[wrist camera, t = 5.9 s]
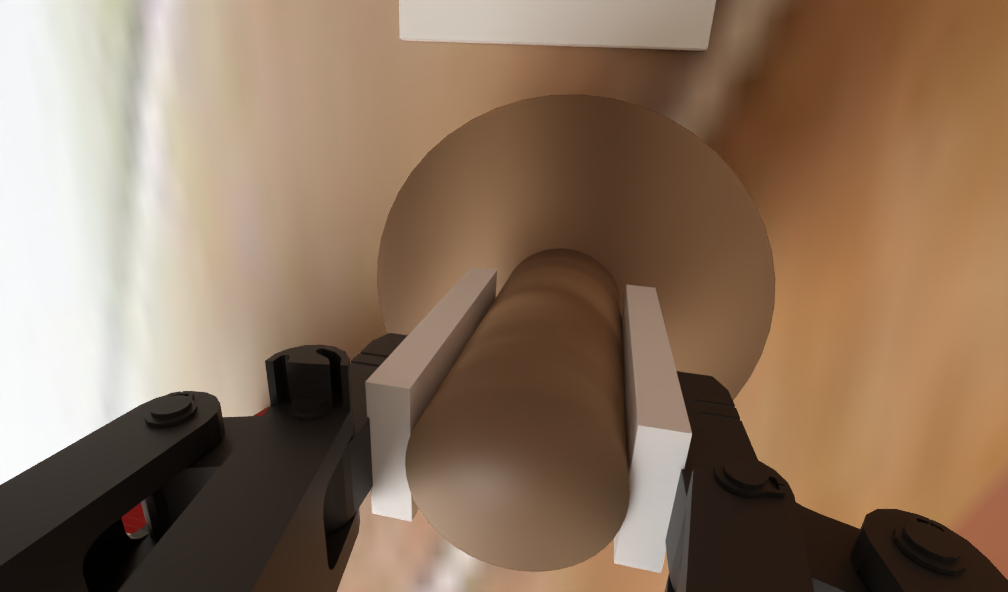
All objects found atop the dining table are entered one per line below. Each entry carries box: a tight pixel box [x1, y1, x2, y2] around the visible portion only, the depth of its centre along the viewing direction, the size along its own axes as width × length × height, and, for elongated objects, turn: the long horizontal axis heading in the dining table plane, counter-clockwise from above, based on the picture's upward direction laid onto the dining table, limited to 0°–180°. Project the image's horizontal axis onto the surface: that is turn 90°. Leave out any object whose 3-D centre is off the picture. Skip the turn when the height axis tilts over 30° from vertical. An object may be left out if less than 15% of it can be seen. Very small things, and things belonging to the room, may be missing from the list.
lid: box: [377, 95, 775, 572], centre depth 12 cm, size 12×12×9 cm
